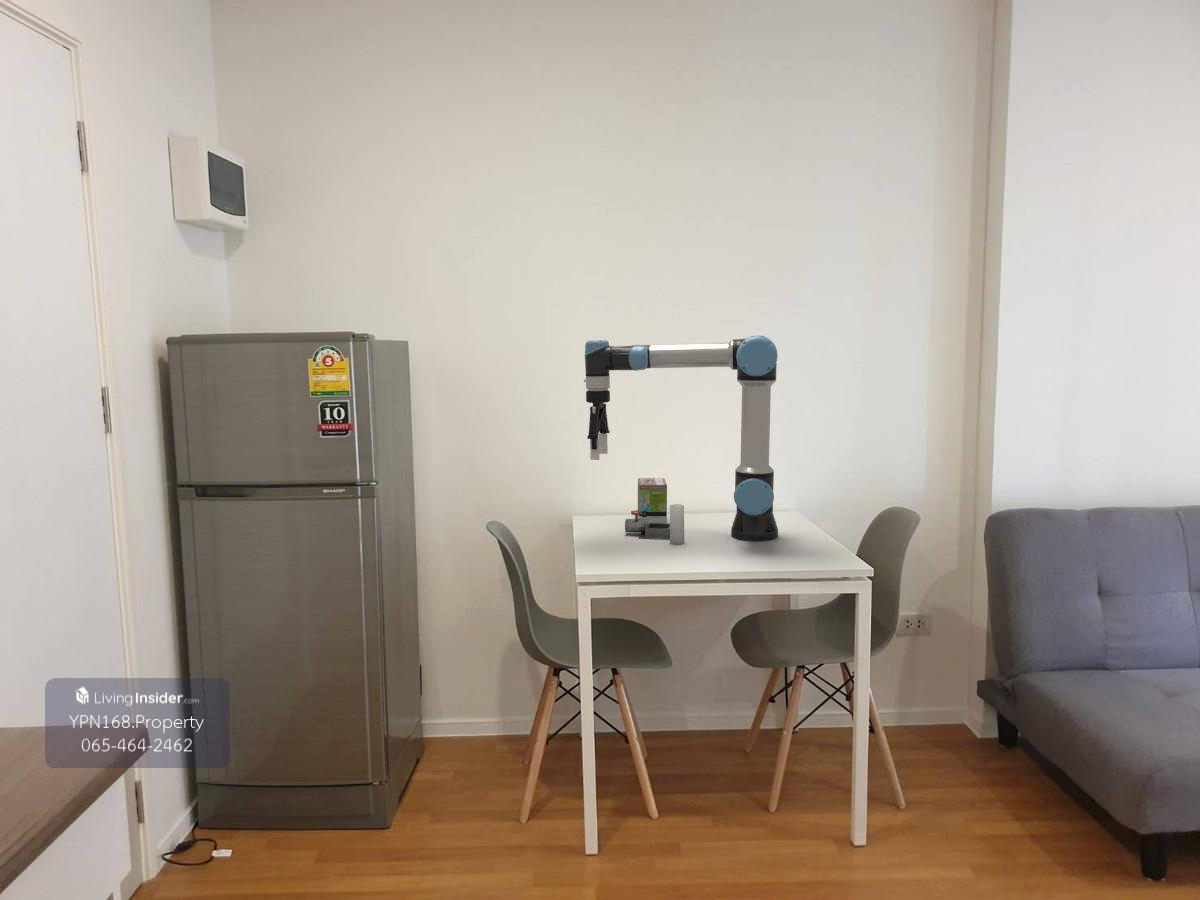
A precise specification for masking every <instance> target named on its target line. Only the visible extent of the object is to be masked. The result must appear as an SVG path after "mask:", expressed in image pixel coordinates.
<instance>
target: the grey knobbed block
mask: <svg viewBox="0 0 1200 900" xmlns="http://www.w3.org/2000/svg"><path fill="white" fill-rule="evenodd" d="M630 514H631V515H632V516H634V518H626V519H625V521H624V532H625V533H631V534H633V533H636V534H639V535H638V538H637V539H639V540H642V539H643V540H669V541H670V523H648V520H647V519H638V515H641V514H642V511H638V509H637V510H631V511H630Z"/></svg>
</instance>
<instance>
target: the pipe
mask: <svg viewBox="0 0 1200 900" xmlns="http://www.w3.org/2000/svg"><path fill="white" fill-rule="evenodd" d="M669 524H670V540H669V544H671V545H683V544H685V505H684V504H678V503H677V504H676V503H675V504H670V505H669Z"/></svg>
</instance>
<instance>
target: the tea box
mask: <svg viewBox="0 0 1200 900" xmlns="http://www.w3.org/2000/svg"><path fill="white" fill-rule="evenodd" d="M637 510H638V511H642V514H641V515H638V519H647V520H648V523H667V522H668V484H667V482H666V479H665V478H664V477H652V478H651V477H647V478H646V477H645V478H644V477H640V478H637ZM667 524H668V523H667Z"/></svg>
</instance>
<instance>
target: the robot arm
mask: <svg viewBox="0 0 1200 900" xmlns="http://www.w3.org/2000/svg"><path fill="white" fill-rule="evenodd" d="M584 346H585V347H584V348H585V349H584V364H585V365H584V366H585V369H584V370H585V379H583V382H584V383H585V389H586V391H585V401H586V403H589V404H592V406H589V424H588V435H587V437H586V438H587V440H589V450H590V461H600V455H607V454H609V453H608V450H609V449H608V434H610V432H611V431H610V429H609V423H608V415H607V414H608V413H607V404H606V403H609V402H610V401H611V391H610V390H609V389H610V388H611V385H610V383H611V382H610V379H611V378H610V371H644V370H646V369H672V368H673V369H674V368H675V369H676V368H677V369H678V368H679V369H680V368H683V369H684V368H730V369H731V370H733V371H737V372H736V374H737V375H736V381H737V382H738V383H739V385H740V386H741V417H740V418H741V423H740V424H741V426H740V427H741V428H740V463H739V465H738V466H737V467H736V468H735V473H734V474H735V475H734V477H735V478H734V479H735V480H734V492H733V500H734V503H735V505H736V513H735V516H734V519H733V522H732V525H731V529H730V536H731V537H732V538H733V539H734V538H735V539H737V540H742V541H750V542H762V541H763V542H766V541H772V540H775V539H777V538H778V537H779V528H778V525H777V522H776V519H775V516H774V501H775V494H774V485H775V484H774V480H775V479H774V477H775V474H774V473H775V470H774V469H773V468H772V466H770V436H771V433H770V431H771V396H772V395H771V391H772V388H771V387H772V385H773V384H775V383H776V382H777V364H778V363H777V361H778V348H777V346H776V344H775V343H774V342H773V341H772V340H771V339H770V338H769V337H766V336H764V335H760V334H759V335H758V334H757V335H750V336H748V337H745V338H739V339H738V338H736V339H734V338H733V339H731V340H730V341H729V342H709V343H707V342H706V343H679V344H678V343H677V344H676V343H675V344H674V343H673V344H670V343H669V344H631V345H621V346H620V345H619V346H618V345H617V346H614V345H612V346H610V344H609V340H607V339H604V340H603V339H601V340H600V339H599V340H598V339H597V340H587V341H586V342H585V345H584Z"/></svg>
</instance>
